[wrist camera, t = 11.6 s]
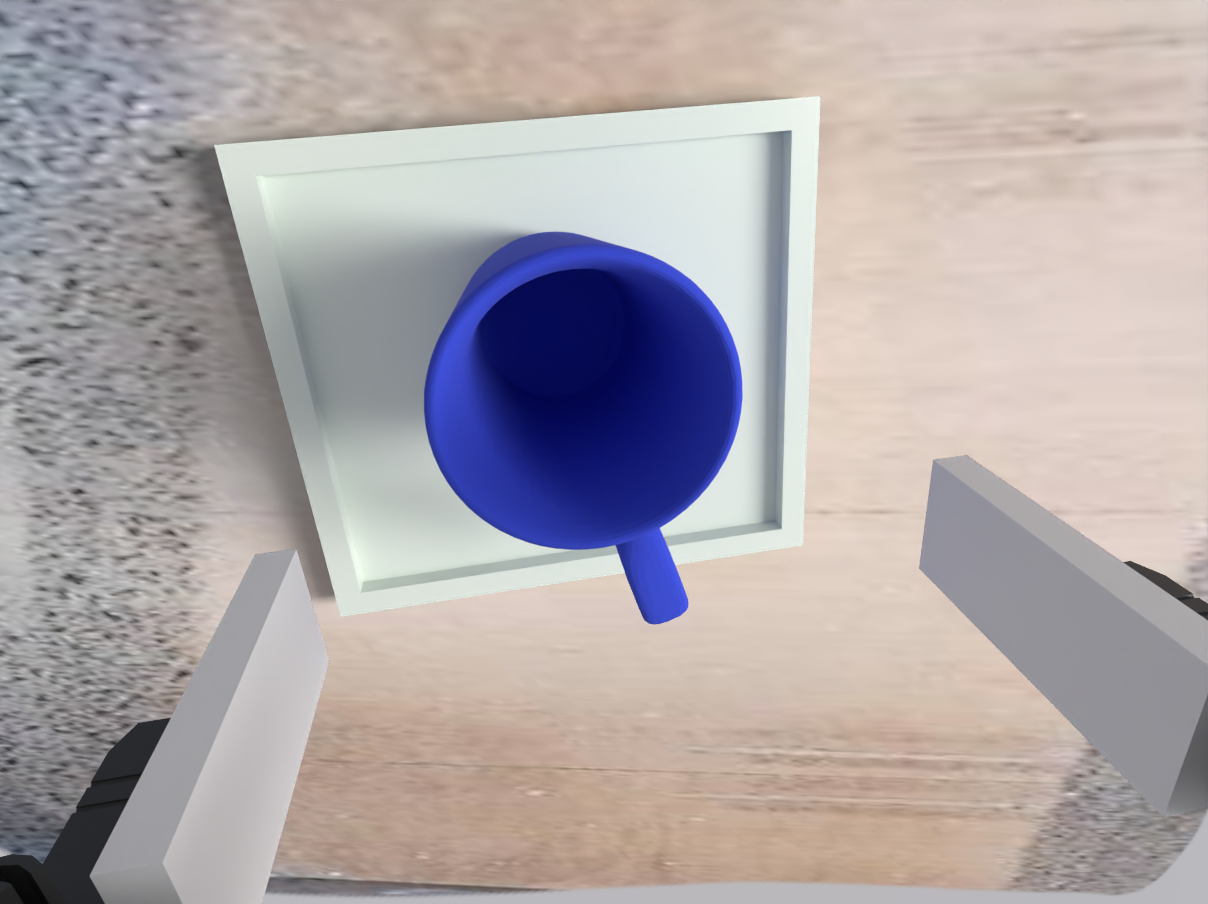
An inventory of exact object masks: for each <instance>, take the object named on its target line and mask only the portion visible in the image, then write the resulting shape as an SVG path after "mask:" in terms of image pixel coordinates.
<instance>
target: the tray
mask: <svg viewBox="0 0 1208 904" xmlns="http://www.w3.org/2000/svg"><path fill="white" fill-rule="evenodd" d="M819 121H820V96H817V97H805V98H792V99H780V100H767V101H755V102H743V103H730V104H718V105H705V106H693V107H680V108H668V109H656V110H643V111H631V112H618V113H606V114H593V115H581V116H569V117H556V118H544V119H531V120H519V121H507V122H494V123H482V124H469V125H457V126H444V127H432V128H420V129H407V130H395V131H382V132H370V133H357V134H345V135H333V136H320V137H308V138H295V139H283V140H271V141H258V142H246V143H233V144H221V145H214V147H215V150H216V154H217V158H218V162H219V165H220V169H221V173H222V177H223V180H224V184H225V188H226V191H227V195H228V199H229V203H230V206H231V210H232V214H233V218H234V221H235V225H236V229H237V232H238V236H239V240H240V244H241V247H242V251H243V255H244V259H245V262H246V266H247V270H248V273H249V277H250V281H251V285H252V288H253V292H254V296H255V300H256V303H257V307H258V311H259V314H260V318H261V322H262V326H263V329H264V333H265V337H266V341H267V344H268V348H269V352H270V355H271V359H272V363H273V367H274V370H275V374H276V378H277V382H278V385H279V389H280V393H281V396H282V400H283V404H284V408H285V411H286V415H287V419H288V422H289V426H290V430H291V434H292V437H293V441H294V445H295V449H296V452H297V456H298V460H299V463H300V467H301V471H302V475H303V478H304V482H305V486H306V490H307V493H308V497H309V501H310V504H311V508H312V512H313V516H314V519H315V523H316V527H317V531H318V534H319V538H320V542H321V545H322V549H323V553H324V557H325V560H326V564H327V568H328V572H329V575H330V579H331V583H332V586H333V590H334V594H335V598H336V601H337V605H338V609H339V613H340V616H341V617H344V616H350V615H357V614H363V613H370V612H376V611H382V610H389V609H395V608H402V607H408V606H415V605H421V604H428V603H434V602H440V601H447V600H453V599H460V598H466V597H473V596H479V595H486V594H492V593H499V592H505V591H511V590H518V589H524V588H531V587H537V586H544V585H550V584H557V583H563V582H569V581H576V580H582V579H589V578H595V577H602V576H608V575H615V574H621V573H625V571H624V568H623V566H622V563H621V560H620V557H619V554H618V551H617V548H616V546H615V545H614V546H609V547H604V548H597V549H586V550H566V549H555V548H549V547H543V546H539V545H535V544H531V543H528V542H525V541H522V540H520V539H517V538H514V537H512V536H510V535H508V534H506V533H504V532H502V531H500V530H498V529H496V528H495V527H493V526H491V525H490V524H488V523H487V522H485V521H484V520H483V519H481V518H480V517H479V516H477V515H476V514H475V513H474V512H473V511H472V510H470V509H469V508H468V507H467V506H466V505H465V504H464V502H463V501H462V500H461V499H460V498H459V497H458V496H457V495H456V494H455V492H454V491H453V490H452V488H451V487H450V485H449V484H448V483H447V481H446V479H445V478H444V476H443V474H442V472H441V471H440V469H439V467H438V464H437V462H436V460H435V458H434V456H433V453H432V450H431V447H430V444H429V440H428V435H427V431H426V425H425V416H424V388H425V381H426V375H427V370H428V366H429V363H430V359H431V356H432V353H433V350H434V348H435V345H436V343H437V341H438V338H439V336H440V334H441V332H442V331H443V329H444V327H445V325H446V323H447V321H448V320H449V318H450V316H451V314H452V312H453V310H454V308H455V307H456V305H457V303H458V301H459V299H460V297H461V296H462V294H463V292H464V290H465V288H466V286H467V285H468V283H469V281H470V280H471V278H472V276H473V275H474V274H475V272H476V271H477V269H478V268H479V267H480V266H481V265H482V264H483V263H484V262H485V260H486V259H488V258H489V257H490V256H491V255H492V254H493V253H495V252H496V251H497V250H499V249H500V248H501V247H503V246H505V245H507V244H508V243H510V242H512V241H514V240H516V239H519V238H522V237H525V236H528V235H532V234H536V233H542V232H569V233H575V234H580V235H583V236H587V237H591V238H594V239H598V240H601V241H605V242H608V243H612V244H615V245H619V246H622V247H626V248H630V249H633V250H636V251H639V252H643V253H645V254H648V255H651V256H653V257H655V258H657V259H659V260H662V261H664V262H665V263H667V264H669V265H671V266H672V267H674V268H675V269H677V270H679V271H680V272H681V273H683V274H684V275H685V276H687V277H688V278H689V279H691V280H692V281H693V282H694V283H695V284H696V285H697V286H698V287H699V288H700V289H701V290H702V291H703V292H704V293H705V294H706V295H707V296H708V297H709V298H710V300H711V301H712V302H713V304H714V305H715V306H716V308H717V309H718V310H719V312H720V314H721V315H722V317H723V319H724V320H725V322H726V324H727V326H728V328H729V330H730V333H731V335H732V337H733V340H734V343H735V346H736V349H737V352H738V356H739V361H740V366H741V374H742V392H743V398H742V408H741V415H740V420H739V425H738V429H737V432H736V436H735V439H734V442H733V444H732V447H731V449H730V451H729V454H728V456H727V458H726V460H725V462H724V464H723V465H722V467H721V469H720V470H719V472H718V474H717V475H716V477H715V478H714V480H713V481H712V482H711V484H710V485H709V486H708V488H707V489H706V490H705V491H704V492H703V493H702V494H701V496H700V497H699V498H698V499H697V500H696V501H695V502H694V503H692V504H691V505H690V506H689V507H688V508H687V509H686V510H685V511H683V512H682V513H681V514H680V515H678V516H677V517H676V518H674V519H673V520H672V521H670V522H669V523H667V524H665V525H664V526H662V527H660V530H661V532H662V534H663V537H664V539H665V541H666V544H667V546H668V548H669V551H670V553H671V556H672V558H673V561H674V563H675V565H679V564H686V563H692V562H698V561H705V560H711V559H718V558H724V557H731V556H737V555H744V554H750V553H756V552H763V551H769V550H776V549H782V548H789V547H795V546H802V545H803V529H804V503H805V478H806V452H807V427H808V401H809V376H810V350H811V325H812V299H813V274H814V248H815V223H816V198H817V172H818V147H819Z"/></svg>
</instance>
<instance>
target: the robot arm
mask: <svg viewBox="0 0 1208 904" xmlns="http://www.w3.org/2000/svg"><path fill="white" fill-rule="evenodd" d="M919 569H920V570H921V571H922V572H923V573H924V574H925V575H926V576H927V577H928V578H929V579H930V580H931V581H932V582H933V583H934V584H935V585H936V586H937V587H938V588H939V589H940V590H941V591H942V592H943V593H944V594H945V595H946V596H947V597H948V598H949V599H950V600H951V601H952V602H953V603H954V604H955V605H956V606H957V607H958V608H959V609H960V611H961V612H962V613H963V614H964V615H965V616H966V617H967V618H968V619H969V620H970V621H971V622H972V623H973V624H974V625H975V626H976V627H977V628H978V629H979V630H980V631H981V632H982V633H983V634H984V635H985V636H986V637H987V638H988V639H989V640H990V641H991V642H992V643H993V644H994V645H995V646H996V647H997V648H998V649H999V650H1000V651H1001V652H1002V653H1003V654H1004V655H1005V656H1006V657H1007V658H1008V659H1009V660H1010V661H1011V662H1012V663H1013V664H1014V665H1015V667H1016V668H1017V669H1018V670H1019V671H1020V672H1021V673H1022V674H1023V675H1024V676H1025V677H1026V678H1027V679H1028V680H1029V681H1030V682H1031V683H1032V684H1033V685H1034V686H1035V687H1036V688H1037V689H1038V690H1039V691H1040V692H1041V693H1042V694H1043V695H1044V696H1045V697H1046V698H1047V699H1048V700H1049V701H1050V702H1051V703H1052V704H1053V705H1054V706H1055V707H1056V708H1057V709H1058V710H1059V711H1060V712H1061V713H1062V714H1063V715H1064V716H1065V717H1066V718H1067V719H1068V720H1069V721H1070V723H1071V724H1072V725H1073V726H1074V727H1075V728H1076V729H1077V730H1078V731H1079V732H1080V733H1081V734H1082V735H1083V736H1084V737H1085V738H1086V739H1087V740H1088V741H1089V742H1090V743H1091V744H1092V745H1093V746H1094V747H1095V748H1096V749H1097V750H1098V751H1099V752H1100V753H1101V754H1102V755H1103V756H1104V757H1105V758H1106V759H1107V760H1108V761H1109V762H1110V763H1111V764H1112V765H1113V766H1114V767H1115V768H1116V769H1117V770H1118V771H1119V772H1120V773H1121V774H1122V775H1123V776H1124V778H1125V779H1126V780H1127V781H1128V782H1129V783H1130V784H1131V785H1132V786H1133V787H1134V788H1135V789H1136V790H1137V791H1138V792H1139V793H1140V794H1141V795H1142V796H1143V797H1144V798H1145V799H1146V800H1147V801H1148V802H1149V803H1150V804H1151V805H1152V806H1153V807H1154V808H1155V809H1156V810H1157V811H1158V812H1159V813H1160V814H1161V815H1162V816H1163V817H1167V816H1172V815H1177V814H1182V813H1187V812H1192V811H1197V810H1202V809H1206V808H1208V604H1207V603H1206V602H1204V601H1203V600H1201V599H1200V598H1194V596H1193V594H1192V593H1191V592H1189V591H1188V590H1186V589H1185V588H1183V587H1182V586H1180V585H1179V584H1177V583H1176V582H1174V581H1173V580H1171V579H1170V578H1168V577H1167V576H1165V575H1163V574H1160V573H1158V572H1155V571H1153V570H1151V569H1148V568H1146V567H1143V566H1141V565H1139V564H1136V563H1134V562H1131V561H1128V562H1122V561H1120V560H1119V559H1117V558H1116V557H1115V556H1113V555H1112V554H1110V553H1109V552H1107V551H1106V550H1104V549H1103V548H1101V547H1100V546H1099V545H1097V544H1096V543H1094V542H1093V541H1091V540H1090V539H1088V538H1087V537H1085V536H1084V535H1082V534H1081V533H1080V532H1078V531H1077V530H1075V529H1074V528H1072V527H1071V526H1069V525H1068V524H1066V523H1065V522H1064V521H1062V520H1061V519H1059V518H1058V517H1056V516H1055V515H1053V514H1052V513H1050V512H1049V511H1048V510H1046V509H1045V508H1043V507H1042V506H1040V505H1039V504H1037V503H1036V502H1034V501H1033V500H1031V499H1030V498H1029V497H1027V496H1026V495H1024V494H1023V493H1021V492H1020V491H1018V490H1017V489H1015V488H1014V487H1013V486H1011V485H1010V484H1008V483H1007V482H1005V481H1004V480H1002V479H1001V478H999V477H998V476H997V475H995V474H994V473H992V472H991V471H989V470H988V469H986V468H985V467H983V466H982V465H980V464H979V463H978V462H976V461H975V460H973V459H972V458H970V457H969V456H967V455H964V456H957V457H950V458H943V459H935V460H933V466H932V473H931V481H930V489H929V496H928V504H927V512H926V519H925V527H924V535H923V542H922V550H921V558H920V566H919ZM328 664H329V658H328V655H327V651H326V648H325V645H324V641H323V638H322V634H321V631H320V628H319V624H318V621H317V617H316V614H315V611H314V607H313V604H312V600H311V597H310V594H309V590H308V587H307V583H306V580H305V577H304V573H303V570H302V566H301V563H300V560H299V556H298V553H297V549H292V550H285V551H278V552H271V553H264V554H256V555H255V556H254V558H253V560H252V562H251V564H250V566H249V568H248V570H247V572H246V573H245V575H244V577H243V579H242V581H241V583H240V585H239V587H238V589H237V591H236V593H235V595H234V597H233V599H232V601H231V603H230V604H229V606H228V608H227V610H226V612H225V614H224V616H223V618H222V620H221V622H220V624H219V626H218V628H217V630H216V632H215V634H214V635H213V637H212V639H211V641H210V643H209V645H208V647H207V649H206V651H205V653H204V655H203V657H202V659H201V661H200V663H199V665H198V667H197V668H196V670H195V672H194V674H193V676H192V678H191V680H190V682H189V684H188V686H187V688H186V690H185V692H184V694H183V696H182V698H181V699H180V701H179V703H178V705H177V707H176V709H175V711H174V713H173V715H172V717H171V718H166V719H160V720H154V721H148V722H142V723H138V724H137V725H136V726H135V727H134V728H133V729H132V730H131V731H130V732H129V733H127V734H126V735H125V736H124V737H123V738H122V739H121V740H120V741H119V742H118V743H117V744H116V745H115V746H114V747H113V748H112V749H111V750H110V751H109V752H108V754H107V755H106V757H105V759H104V761H103V762H102V764H101V766H100V767H99V769H98V771H97V772H96V774H95V776H94V778H93V779H92V781H91V787H90V788H87V789H86V791H85V793H84V795H83V796H82V798H81V800H80V801H79V803H78V805H77V807H76V808H77V811H76V813H73V814H72V815H71V817H70V818H69V820H68V822H67V824H66V825H65V827H64V829H63V830H62V832H61V834H60V836H59V837H58V839H57V841H56V842H55V844H54V846H53V847H52V849H51V851H50V853H49V854H48V856H47V858H46V859H45V861H44V863H43V864H42V863H40V862H39V861H38V860H37V859H36V858H34V857H33V856H30V855H16V854H11V855H7V856H3V857H0V904H262V902H263V898H264V894H265V891H266V887H267V884H268V880H269V876H270V873H271V869H272V866H273V862H274V858H275V855H276V851H277V848H278V844H279V840H280V837H281V833H282V830H283V826H284V822H285V819H286V815H287V812H288V808H289V804H290V801H291V797H292V794H293V790H294V786H295V783H296V779H297V776H298V772H299V768H300V765H301V761H302V757H303V754H304V750H305V747H306V743H307V739H308V736H309V732H310V729H311V725H312V721H313V718H314V714H315V711H316V707H317V703H318V700H319V696H320V693H321V689H322V685H323V682H324V678H325V675H326V671H327V667H328Z"/></svg>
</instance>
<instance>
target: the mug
mask: <svg viewBox="0 0 1208 904" xmlns="http://www.w3.org/2000/svg"><path fill="white" fill-rule="evenodd" d="M742 398H743V392H742V374H741V366H740V361H739V356H738V352H737V349H736V346H735V343H734V340H733V337H732V335H731V333H730V330H729V328H728V326H727V324H726V322H725V320H724V319H723V317H722V315H721V314H720V312H719V310H718V309H717V308H716V306H715V305H714V304H713V302H712V301H711V300H710V298H709V297H708V296H707V295H706V294H705V293H704V292H703V291H702V290H701V289H700V288H699V287H698V286H697V285H696V284H695V283H694V282H693V281H692V280H691V279H689V278H688V277H687V276H685V275H684V274H683V273H681V272H680V271H679V270H677V269H675V268H674V267H672V266H671V265H669V264H667V263H665V262H664V261H662V260H659V259H657V258H655V257H653V256H651V255H648V254H645V253H643V252H639V251H636V250H633V249H630V248H626V247H622V246H619V245H615V244H612V243H608V242H605V241H601V240H598V239H594V238H591V237H587V236H583V235H580V234H575V233H569V232H542V233H536V234H532V235H528V236H525V237H522V238H519V239H516V240H514V241H512V242H510V243H508V244H507V245H505V246H503V247H501V248H500V249H499V250H497V251H496V252H495V253H493V254H492V255H491V256H490V257H489V258H488V259H486V260H485V262H484V263H483V264H482V265H481V266H480V267H479V268H478V269H477V271H476V272H475V274H474V275H473V276H472V278H471V280H470V281H469V283H468V285H467V286H466V288H465V290H464V292H463V294H462V296H461V297H460V299H459V301H458V303H457V305H456V307H455V308H454V310H453V312H452V314H451V316H450V318H449V320H448V321H447V323H446V325H445V327H444V329H443V331H442V332H441V334H440V336H439V338H438V341H437V343H436V345H435V348H434V350H433V353H432V356H431V359H430V363H429V366H428V370H427V375H426V381H425V388H424V416H425V425H426V431H427V435H428V440H429V444H430V447H431V450H432V453H433V456H434V458H435V460H436V462H437V464H438V467H439V469H440V471H441V472H442V474H443V476H444V478H445V479H446V481H447V483H448V484H449V485H450V487H451V488H452V490H453V491H454V492H455V494H456V495H457V496H458V497H459V498H460V499H461V500H462V501H463V502H464V504H465V505H466V506H467V507H468V508H469V509H470V510H472V511H473V512H474V513H475V514H476V515H477V516H479V517H480V518H481V519H483V520H484V521H485V522H487V523H488V524H490V525H491V526H493V527H495V528H496V529H498V530H500V531H502V532H504V533H506V534H508V535H510V536H512V537H514V538H517V539H520V540H522V541H525V542H528V543H531V544H535V545H539V546H543V547H549V548H555V549H566V550H586V549H597V548H604V547H609V546H614V545H615V546H616V548H617V551H618V554H619V557H620V560H621V563H622V566H623V568H624V571H625V574H626V577H627V579H628V582H629V584H630V587H631V589H632V592H633V594H634V597H635V599H636V602H637V605H638V607H639V609H640V612H641V614H642V616H643V618H644V620H645V621H646V622H648V623H649V624H660V623H664V622H667V621H670V620H672V619H674V618H676V617H678V616H680V615H682V614H683V613H684V612H685V611H686V610H687V608H688V599H687V596H686V593H685V590H684V587H683V585H682V582H681V579H680V577H679V574H678V571H677V569H676V566H675V563H674V561H673V558H672V556H671V553H670V551H669V548H668V546H667V544H666V541H665V539H664V537H663V534H662V532H661V530H660V527H662V526H664V525H665V524H667V523H669V522H670V521H672V520H673V519H674V518H676V517H677V516H678V515H680V514H681V513H682V512H683V511H685V510H686V509H687V508H688V507H689V506H690V505H691V504H692V503H694V502H695V501H696V500H697V499H698V498H699V497H700V496H701V494H702V493H703V492H704V491H705V490H706V489H707V488H708V486H709V485H710V484H711V482H712V481H713V480H714V478H715V477H716V475H717V474H718V472H719V470H720V469H721V467H722V465H723V464H724V462H725V460H726V458H727V456H728V454H729V451H730V449H731V447H732V444H733V442H734V439H735V436H736V432H737V429H738V425H739V420H740V415H741V408H742Z"/></svg>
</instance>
